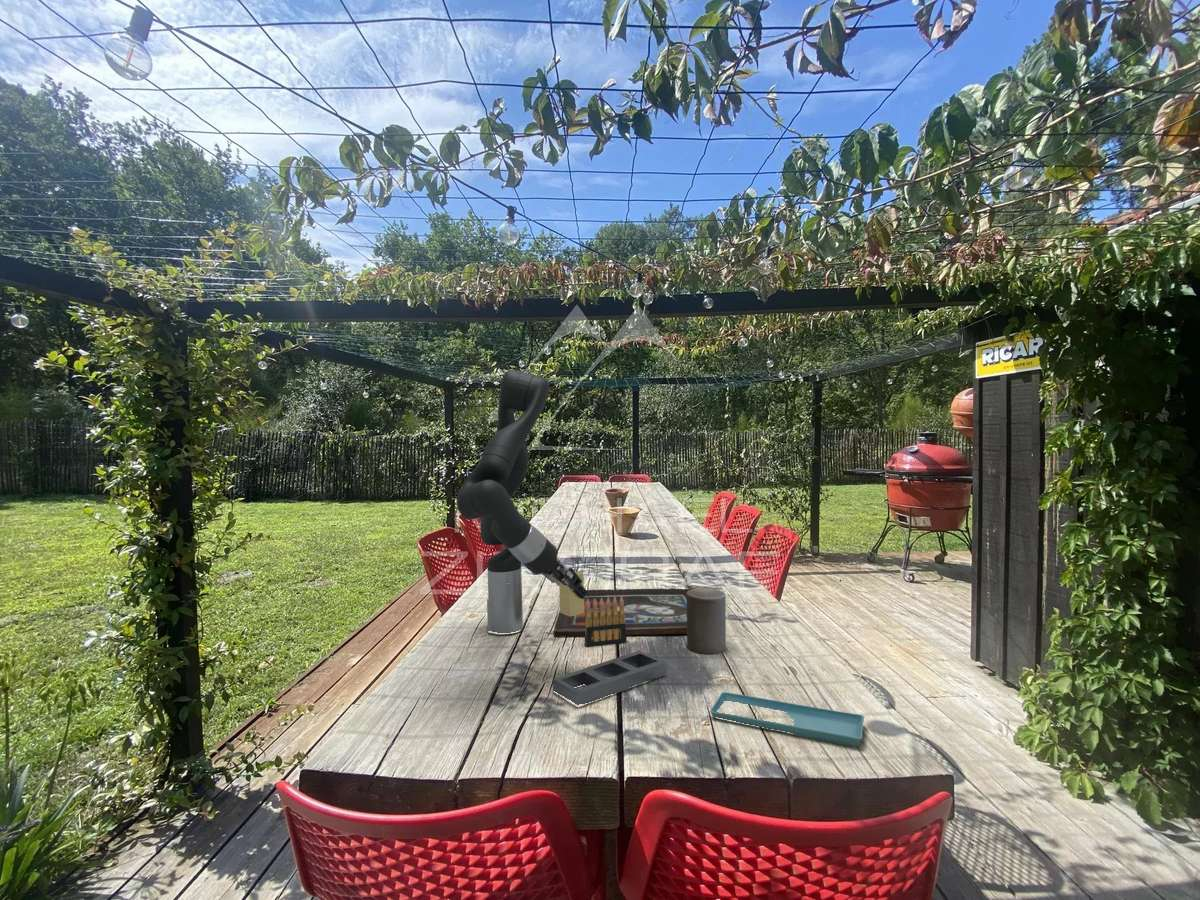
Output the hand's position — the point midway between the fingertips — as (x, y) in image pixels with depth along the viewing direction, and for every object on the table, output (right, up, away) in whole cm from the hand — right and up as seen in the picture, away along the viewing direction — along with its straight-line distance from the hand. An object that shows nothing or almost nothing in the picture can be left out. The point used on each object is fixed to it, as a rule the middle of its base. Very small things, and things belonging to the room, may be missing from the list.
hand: (578, 593), depth 135 cm
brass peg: (-2, -4, -1) cm, 5 cm away
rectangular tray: (+39, -18, -27) cm, 51 cm away
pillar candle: (+32, -16, +11) cm, 37 cm away
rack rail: (+7, -17, -9) cm, 21 cm away
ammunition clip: (+6, -17, +15) cm, 24 cm away
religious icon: (+15, -16, +40) cm, 46 cm away
